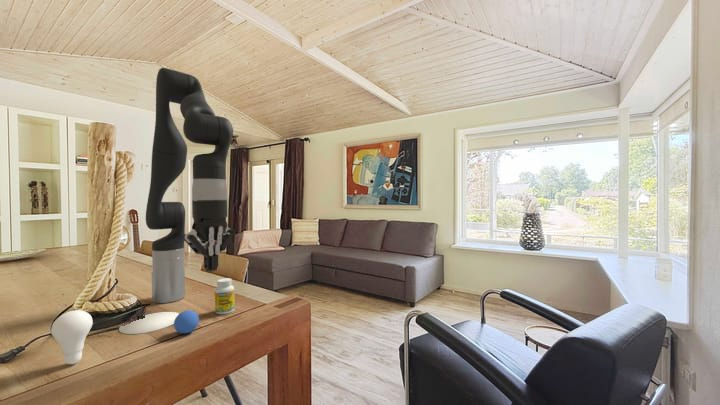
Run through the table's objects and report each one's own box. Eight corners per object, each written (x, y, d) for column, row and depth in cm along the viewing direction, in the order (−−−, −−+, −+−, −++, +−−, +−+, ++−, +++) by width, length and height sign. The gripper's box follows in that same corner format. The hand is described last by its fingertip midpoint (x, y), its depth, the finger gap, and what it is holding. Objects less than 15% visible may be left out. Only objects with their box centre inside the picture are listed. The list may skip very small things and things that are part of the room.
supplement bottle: (232, 306, 92) (232, 276, 92) (236, 312, 87) (235, 280, 87) (214, 310, 89) (213, 279, 89) (216, 316, 84) (215, 283, 84)
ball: (169, 335, 73) (168, 313, 73) (190, 326, 78) (189, 305, 78) (183, 339, 70) (182, 316, 70) (203, 330, 75) (203, 309, 75)
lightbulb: (71, 356, 63) (69, 306, 63) (101, 355, 64) (100, 305, 64) (42, 373, 57) (41, 317, 57) (76, 371, 58) (75, 316, 57)
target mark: (107, 328, 77) (107, 327, 77) (162, 309, 90) (162, 308, 90) (138, 338, 71) (138, 337, 71) (192, 317, 84) (192, 316, 84)
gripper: (222, 198, 77) (223, 263, 77) (172, 198, 65) (173, 275, 65) (243, 198, 74) (244, 266, 74) (194, 198, 62) (195, 279, 62)
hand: (211, 270), depth 70 cm, fingers closed
